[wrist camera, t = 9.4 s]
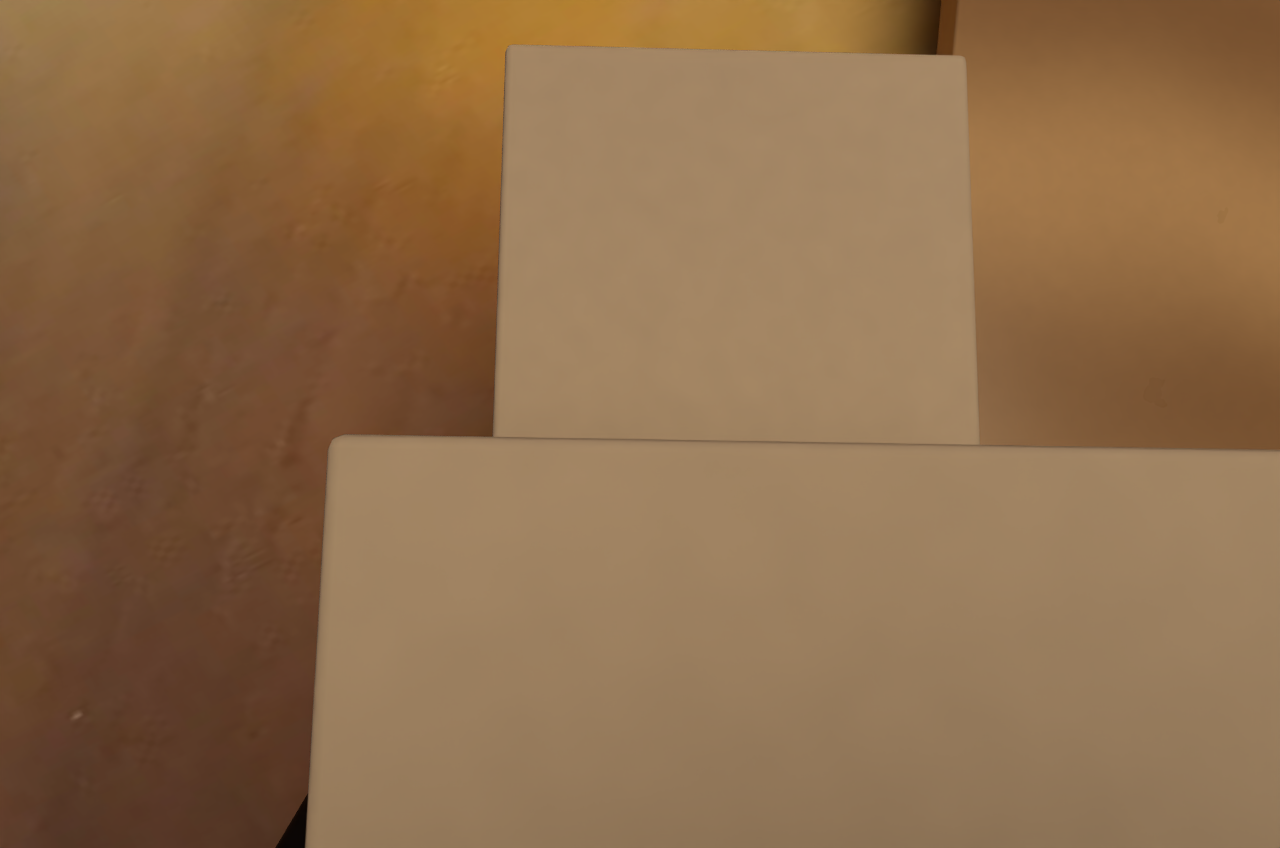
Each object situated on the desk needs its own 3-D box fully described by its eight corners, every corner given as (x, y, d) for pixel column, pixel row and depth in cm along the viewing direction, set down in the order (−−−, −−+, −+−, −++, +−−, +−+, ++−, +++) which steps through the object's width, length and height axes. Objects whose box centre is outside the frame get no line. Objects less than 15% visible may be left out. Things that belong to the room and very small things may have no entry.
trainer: (899, 990, 15) (1612, 1928, 4) (496, 988, 15) (210, 1950, 4) (881, 194, 17) (1356, -529, 6) (521, 187, 17) (363, -566, 6)
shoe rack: (1431, 902, 22) (1609, 969, 18) (829, 828, 22) (878, 880, 18) (1459, -426, 27) (1607, -601, 23) (956, -496, 27) (1018, -686, 23)
